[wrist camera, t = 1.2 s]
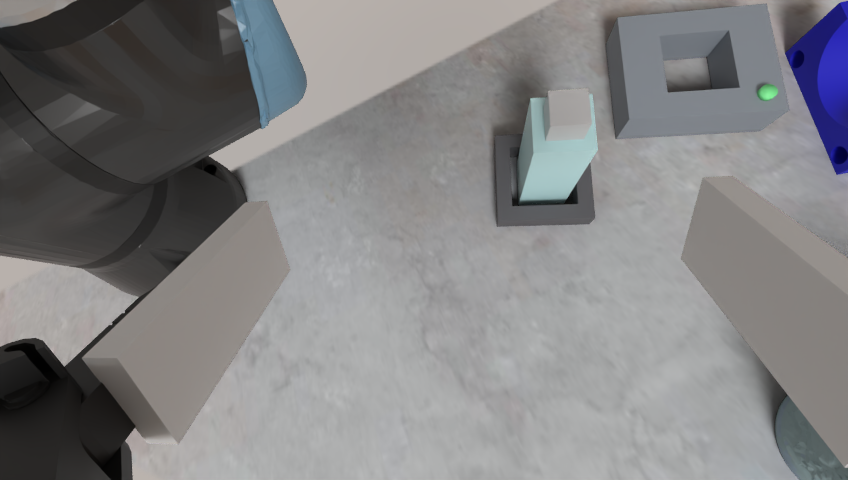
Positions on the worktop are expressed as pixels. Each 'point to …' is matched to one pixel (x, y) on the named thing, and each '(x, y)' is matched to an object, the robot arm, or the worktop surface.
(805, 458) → the grey-green tumbler cup
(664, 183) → the worktop surface
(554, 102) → the capped teal pillar
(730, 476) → the worktop surface
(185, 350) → the robot arm
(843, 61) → the cable clip
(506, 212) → the frame
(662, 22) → the block
